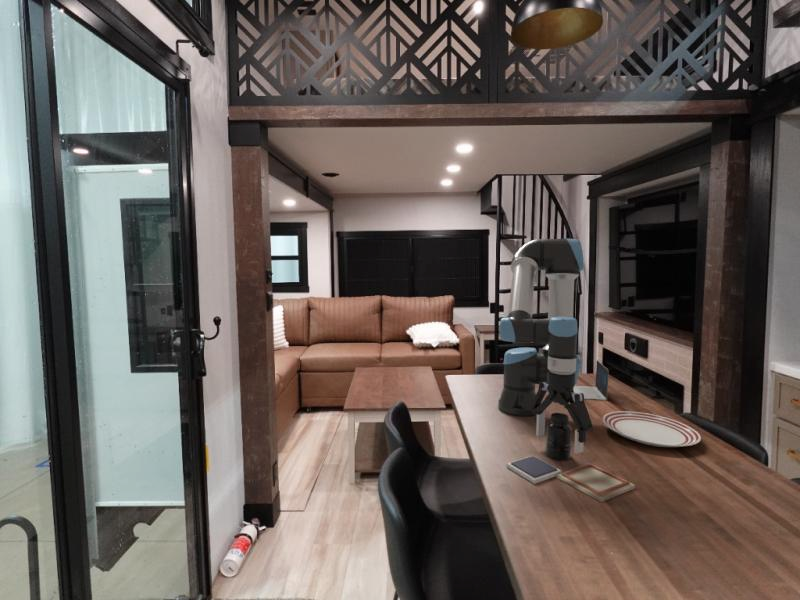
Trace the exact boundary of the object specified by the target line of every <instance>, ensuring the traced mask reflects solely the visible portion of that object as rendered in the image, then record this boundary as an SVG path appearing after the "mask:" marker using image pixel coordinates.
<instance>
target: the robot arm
mask: <svg viewBox="0 0 800 600" xmlns="http://www.w3.org/2000/svg"><path fill="white" fill-rule="evenodd" d="M583 252H584V251H583V247H582V243H581V241H580V240H579V239H577V238H545V239H544V238H543V239H541V238H536V239H533V240H529V241H527V242H526V243H524V244H523V245H522V246H520V247H519V248H518V249H517V251H516V252H515V253H514V255H513V257H512V258H511V263H510V271H511V272H512V277H511V278H512V279H511V286H510V293H509V294H510V295H509V303H508V313H507V316H506V317H502V318H500V320H499V321H500V322H499V339H500V340H501V341H503V342H509V343H510V342H512V343H528V344H545V346H543V347H542V352H538V351H537V348H535V347H516V348H511V349H508V350H507V351H505V353H504V358H503V363H502V364H503V388H502V391H501V394H500V398H499V399H498V404H497V408H498V409H499V411H501V413H504V414H508V415H512V416H516V417H517V416H518V417H520V416H521V417H528V416H529V417H530V416H535V419H534V422H535V424H536V430H535V431H536V433H535V435H536V436H537V437H540V436H543V435H545V434H546V432H545V430H546V429H545V427H546V425H545V424H546V413H545V411H546V409H547V408H548V407H549V406H550V405H551V404H552V403H555V404H558V405H560V406H563V408H564V409H566V410H567V412H568V414H569V416H570V418H571V420H572V421H573V423H574V425H575V428H576V429H575V430H574V450H573V453H574V454H575V455H578V454H581V453H583V452H584V443H585V442H586V441H587V432H589V431H593V430H594V425H593V423H592V420H591V416H590V414H589V412H588V408H587V406H586V401H585V399H584V394H583V393H579V394H578V393H574V390H573V388H574V386H576V385H577V382H578V379H579V373H580V368H581V362H582V361H581V356H580V355H578V354H577V343H578V331H579V330H578V321H577V319H576V317H574V298H575V297H574V296H575V295H574V294H575V293H574V292H575V280H576V279H577V278H578V277H579V276H580V272H582V271H583V270H584V266H585V265H584V253H583ZM538 271H544V275H545V277H546V278H547V279H548V280H549V283H548V285H549V286H548V306H547V308H548V310H547V312H548V313H547V319H543V318H542V319H540V318H538V319H537V318H533V303H534V290H535V289H534V288H535V276H536V274H537V272H538ZM536 385H538V390H537V392H536ZM546 393H548V394H547V395H546ZM545 396H546V397H545Z"/></svg>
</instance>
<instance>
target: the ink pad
mask: <svg viewBox="0 0 800 600" xmlns="http://www.w3.org/2000/svg"><path fill="white" fill-rule="evenodd" d="M506 468H508V469H509V470H511V471H512V472H514V473H515V474H517V475H519V476H521V477H522V478H524V479H525V480H528V482H531V483H532V484H535V485H536V484H538V483H541V482H543V481H546V480H549V479H551V478H555V477H557V474H560V473H563V471H562V470H561V469H559V468H557V467H556V466H554V465H551V464H550V463H548V462H546V461H544V460H542V459H540V458H539V457H537V456H535V455H530V456H527V457H523V458H521V459H517V460H514V461H511V462H507V463H506Z"/></svg>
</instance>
